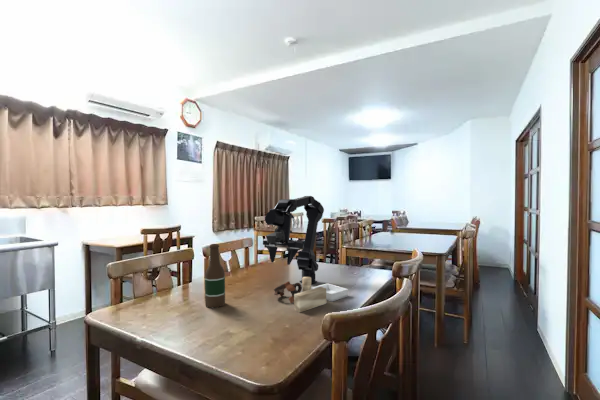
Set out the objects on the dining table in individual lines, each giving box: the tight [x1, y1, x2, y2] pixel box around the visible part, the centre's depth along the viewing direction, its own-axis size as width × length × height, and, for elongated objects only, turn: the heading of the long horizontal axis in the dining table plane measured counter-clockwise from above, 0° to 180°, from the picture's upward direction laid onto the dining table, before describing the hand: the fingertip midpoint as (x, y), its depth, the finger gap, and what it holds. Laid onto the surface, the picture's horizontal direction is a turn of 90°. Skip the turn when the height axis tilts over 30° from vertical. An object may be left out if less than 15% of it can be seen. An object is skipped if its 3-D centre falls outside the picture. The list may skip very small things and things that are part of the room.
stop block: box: [293, 287, 327, 313], centre depth 119 cm, size 3×14×6 cm, turn 131°
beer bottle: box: [204, 243, 226, 308], centre depth 123 cm, size 8×8×24 cm
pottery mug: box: [273, 281, 303, 304], centre depth 130 cm, size 12×10×8 cm
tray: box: [311, 282, 349, 302], centre depth 133 cm, size 12×10×3 cm
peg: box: [301, 277, 312, 292], centre depth 139 cm, size 4×4×6 cm
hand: (280, 263), depth 134 cm, fingers open, 9 cm apart
